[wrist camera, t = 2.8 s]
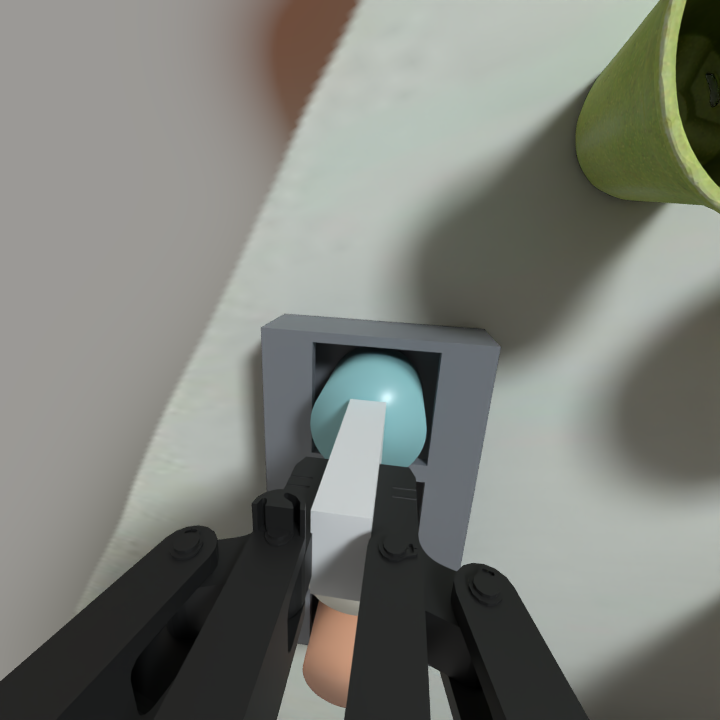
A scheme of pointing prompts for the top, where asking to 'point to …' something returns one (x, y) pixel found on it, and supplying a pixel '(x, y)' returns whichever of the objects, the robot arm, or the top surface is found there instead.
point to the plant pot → (658, 111)
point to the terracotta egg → (330, 654)
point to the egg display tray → (441, 403)
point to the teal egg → (374, 383)
